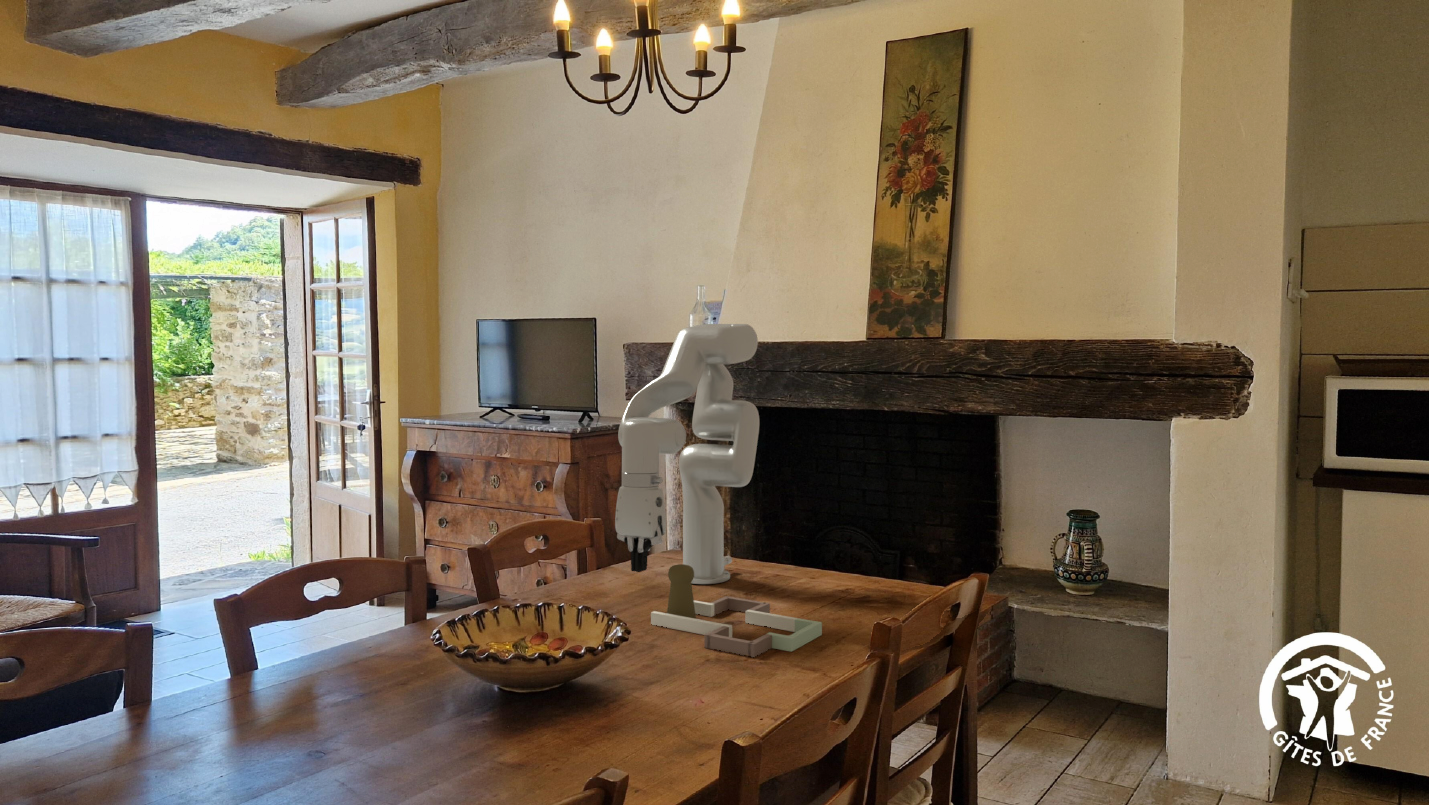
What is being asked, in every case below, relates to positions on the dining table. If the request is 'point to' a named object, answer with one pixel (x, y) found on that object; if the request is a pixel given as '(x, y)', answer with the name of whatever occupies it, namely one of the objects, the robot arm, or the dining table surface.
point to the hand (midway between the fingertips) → (639, 570)
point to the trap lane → (754, 614)
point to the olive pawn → (681, 591)
